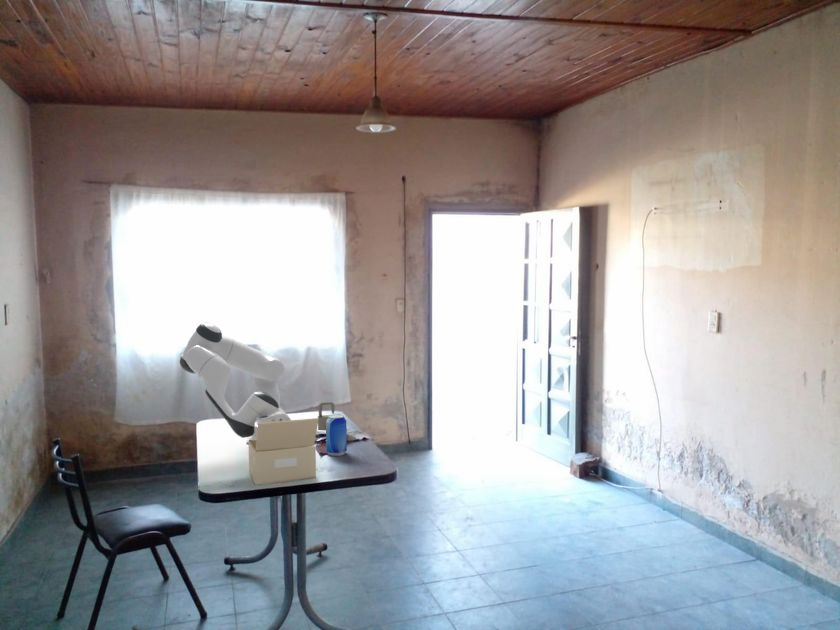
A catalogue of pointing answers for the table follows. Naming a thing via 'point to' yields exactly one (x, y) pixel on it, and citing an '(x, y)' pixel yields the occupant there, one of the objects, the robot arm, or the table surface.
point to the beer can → (336, 435)
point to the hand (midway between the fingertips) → (285, 432)
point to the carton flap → (286, 434)
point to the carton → (281, 464)
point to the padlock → (324, 418)
